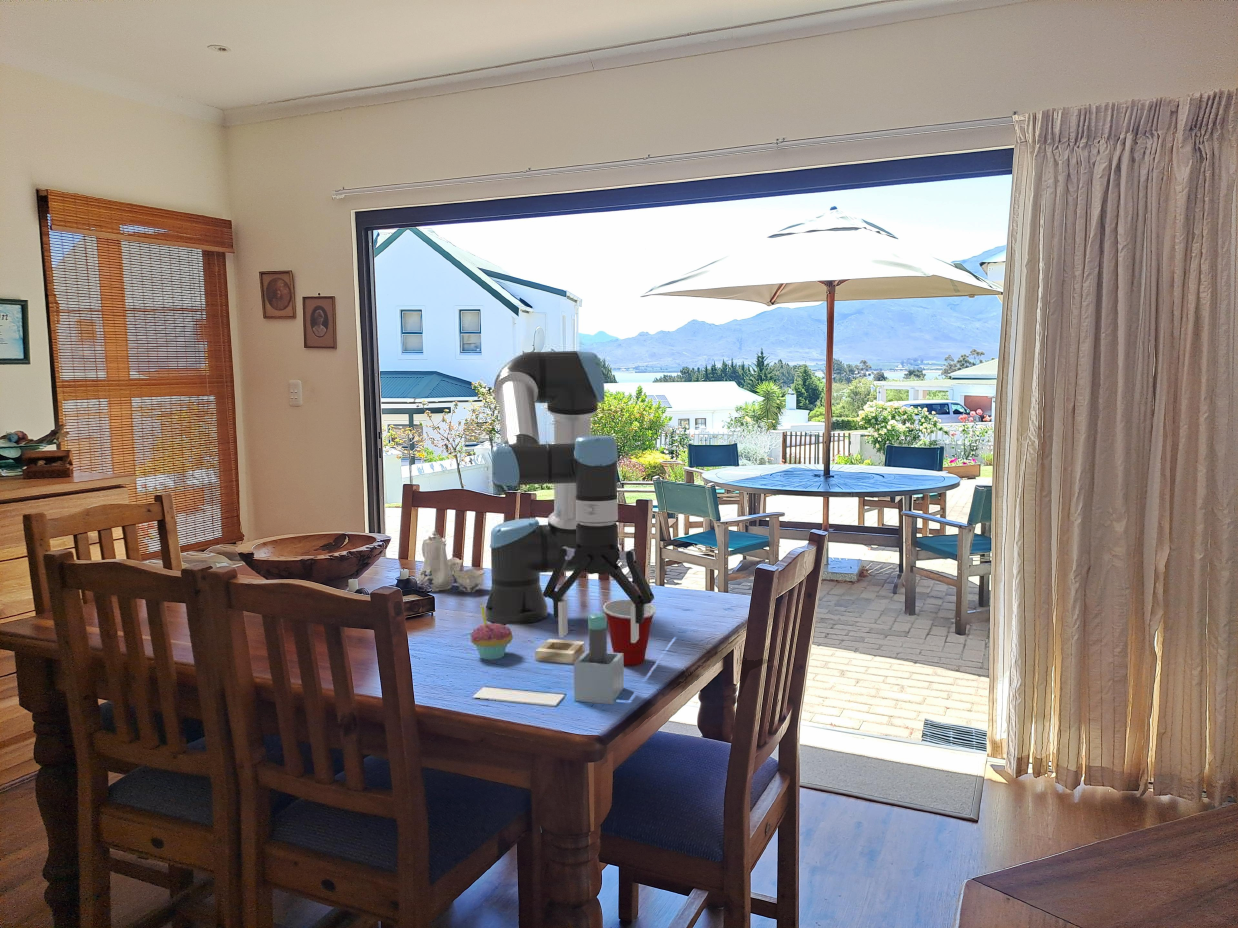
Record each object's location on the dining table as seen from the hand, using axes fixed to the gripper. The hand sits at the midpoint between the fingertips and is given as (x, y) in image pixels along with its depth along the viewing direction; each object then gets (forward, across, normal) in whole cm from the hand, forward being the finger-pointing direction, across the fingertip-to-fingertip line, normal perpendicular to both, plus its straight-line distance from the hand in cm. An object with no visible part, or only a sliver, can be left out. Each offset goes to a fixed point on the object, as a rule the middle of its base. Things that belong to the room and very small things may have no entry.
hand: (598, 638), depth 156 cm
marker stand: (+11, -14, +18) cm, 25 cm away
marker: (+10, 0, 0) cm, 10 cm away
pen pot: (+11, 0, 0) cm, 11 cm away
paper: (+11, -14, 0) cm, 18 cm away
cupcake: (+11, -28, +15) cm, 34 cm away
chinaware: (+11, -66, +69) cm, 96 cm away
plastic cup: (+11, +1, +18) cm, 21 cm away
